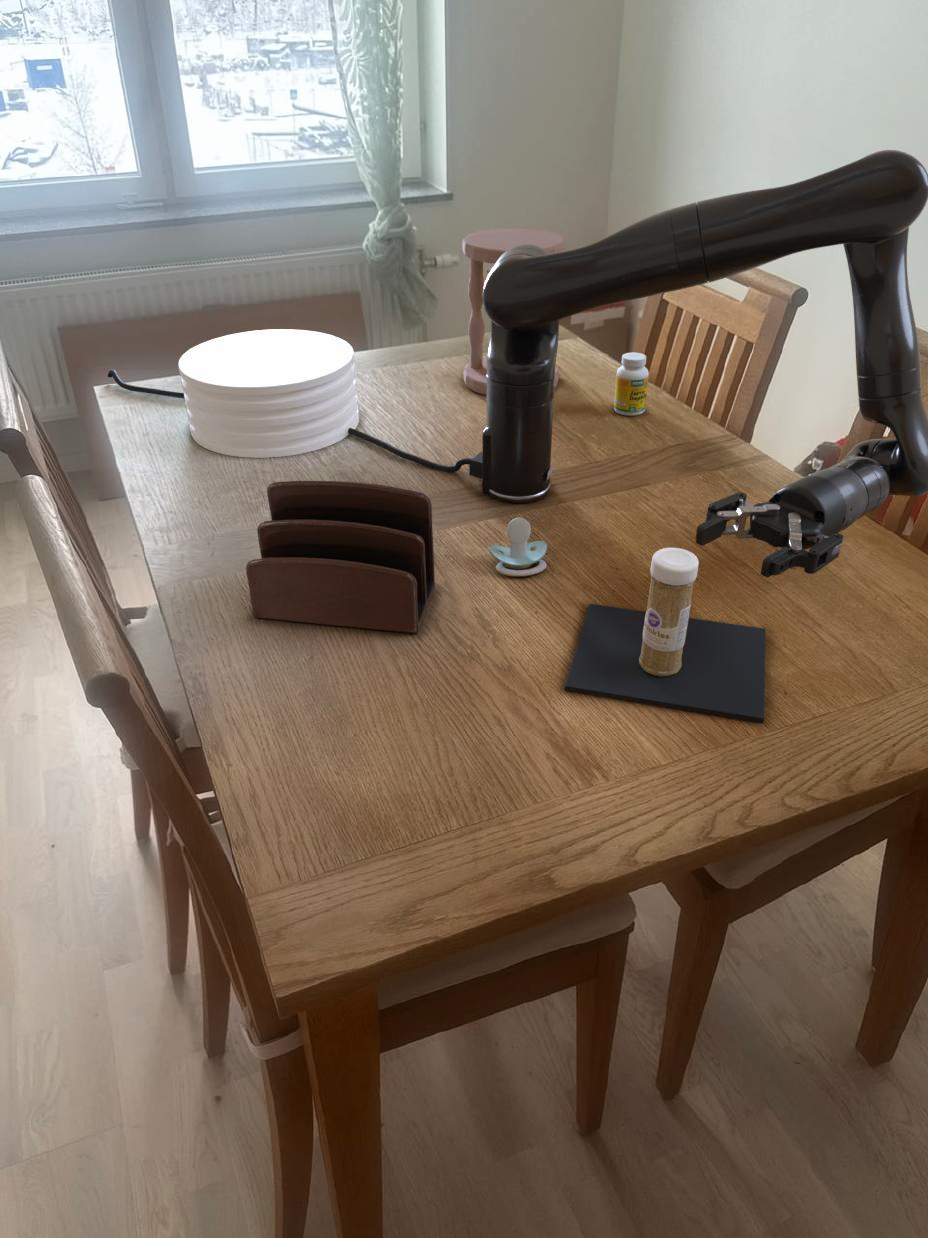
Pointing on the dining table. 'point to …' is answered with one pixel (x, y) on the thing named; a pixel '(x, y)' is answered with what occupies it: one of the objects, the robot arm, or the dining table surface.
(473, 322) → the hourglass
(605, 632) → the placemat
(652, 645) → the sprinkles bottle
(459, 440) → the dining table surface
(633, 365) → the supplement bottle
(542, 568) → the pacifier
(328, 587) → the letter holder
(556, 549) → the dining table surface
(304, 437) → the plate stack
